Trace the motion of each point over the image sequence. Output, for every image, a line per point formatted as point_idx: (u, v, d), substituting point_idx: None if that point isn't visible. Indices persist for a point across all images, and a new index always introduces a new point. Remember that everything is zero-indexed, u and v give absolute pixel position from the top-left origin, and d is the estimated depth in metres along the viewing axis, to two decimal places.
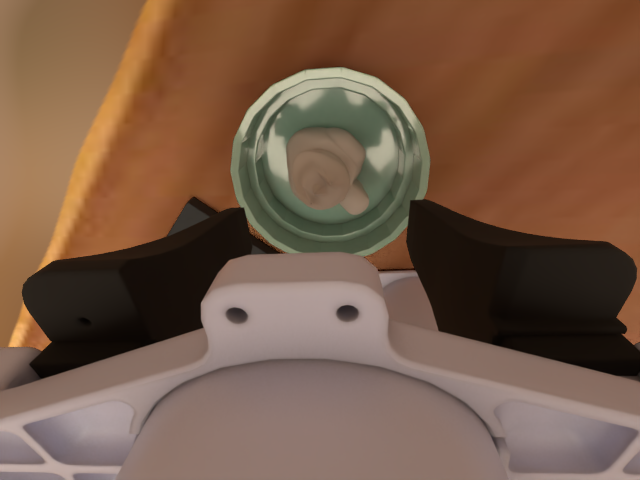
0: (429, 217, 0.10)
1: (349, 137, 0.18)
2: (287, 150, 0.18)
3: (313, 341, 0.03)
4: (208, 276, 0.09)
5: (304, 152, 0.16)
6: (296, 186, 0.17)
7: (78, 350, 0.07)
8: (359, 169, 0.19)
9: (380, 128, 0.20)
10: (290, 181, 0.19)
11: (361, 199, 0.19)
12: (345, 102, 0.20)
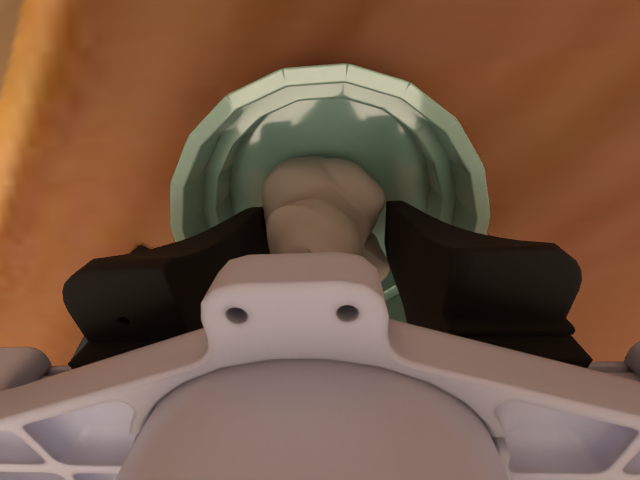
0: (400, 218, 0.10)
1: (360, 176, 0.11)
2: (263, 194, 0.12)
3: (313, 341, 0.03)
4: None
5: (286, 208, 0.10)
6: None
7: (117, 349, 0.06)
8: (375, 222, 0.12)
9: (402, 155, 0.14)
10: None
11: (377, 267, 0.12)
12: (351, 118, 0.13)
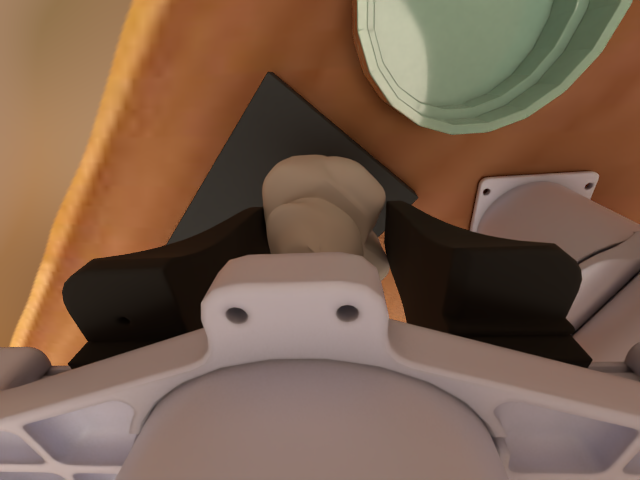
0: (400, 218, 0.10)
1: (360, 174, 0.11)
2: (263, 192, 0.12)
3: (313, 341, 0.03)
4: None
5: (286, 206, 0.10)
6: None
7: (117, 349, 0.06)
8: (375, 221, 0.12)
9: None
10: None
11: (378, 266, 0.12)
12: None
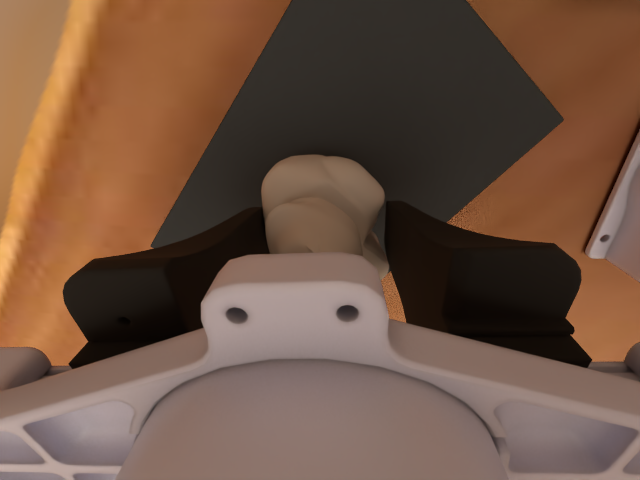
0: (400, 218, 0.10)
1: (360, 174, 0.11)
2: (262, 192, 0.12)
3: (313, 341, 0.03)
4: None
5: (285, 206, 0.10)
6: None
7: (117, 349, 0.06)
8: (374, 221, 0.12)
9: None
10: None
11: (377, 266, 0.12)
12: None
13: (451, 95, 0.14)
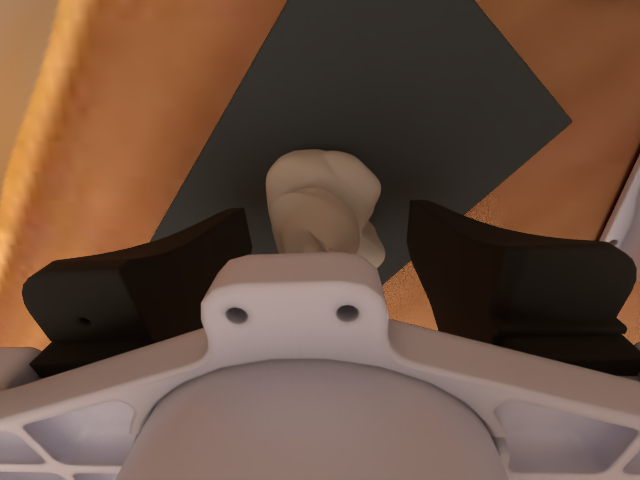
0: (429, 217, 0.10)
1: (357, 167, 0.12)
2: (267, 184, 0.13)
3: (313, 341, 0.03)
4: (208, 276, 0.09)
5: (289, 195, 0.10)
6: (277, 245, 0.11)
7: (79, 350, 0.07)
8: (371, 211, 0.13)
9: None
10: None
11: (374, 253, 0.13)
12: None
13: (455, 96, 0.13)
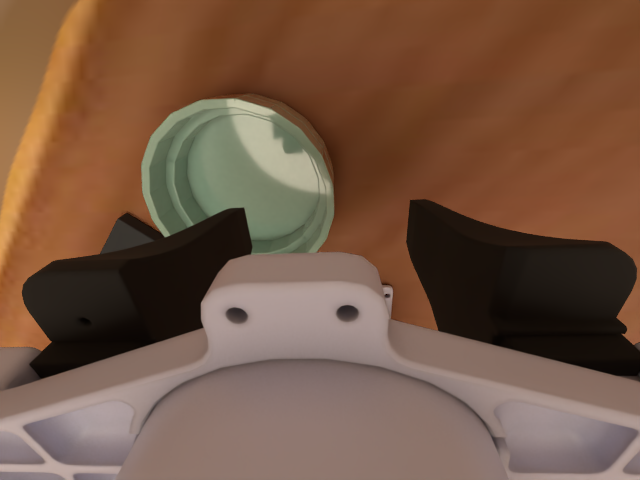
0: (429, 217, 0.10)
1: None
2: None
3: (313, 341, 0.03)
4: (208, 276, 0.09)
5: None
6: None
7: (79, 350, 0.07)
8: None
9: (299, 151, 0.21)
10: None
11: None
12: (262, 126, 0.20)
13: None
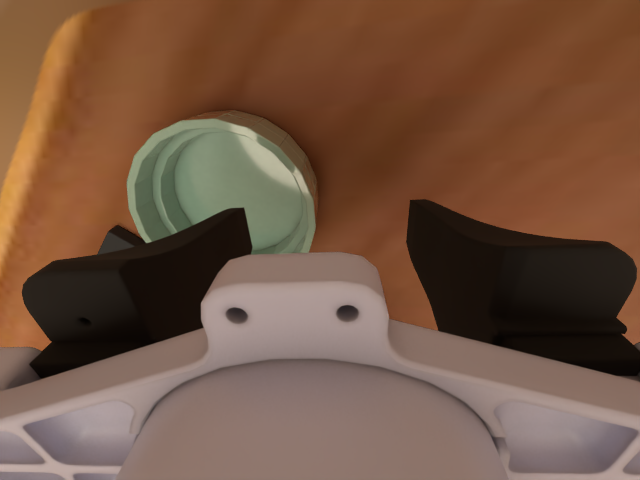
0: (429, 217, 0.10)
1: None
2: None
3: (313, 341, 0.03)
4: (208, 276, 0.09)
5: None
6: None
7: (79, 350, 0.07)
8: None
9: (282, 164, 0.21)
10: None
11: None
12: (245, 141, 0.21)
13: None
